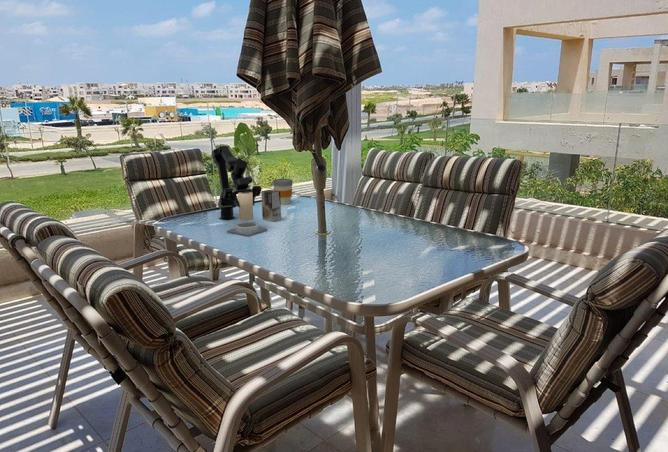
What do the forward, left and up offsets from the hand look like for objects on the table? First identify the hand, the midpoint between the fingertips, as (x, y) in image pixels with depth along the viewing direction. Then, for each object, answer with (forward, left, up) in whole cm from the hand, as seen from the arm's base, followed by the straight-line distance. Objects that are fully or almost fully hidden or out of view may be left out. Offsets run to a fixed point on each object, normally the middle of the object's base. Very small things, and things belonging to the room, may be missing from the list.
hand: (246, 206), depth 247 cm
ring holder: (-1, -1, -13) cm, 13 cm away
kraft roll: (-1, -1, -7) cm, 7 cm away
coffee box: (-28, -8, -14) cm, 32 cm away
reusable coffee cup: (-66, -31, -14) cm, 74 cm away
